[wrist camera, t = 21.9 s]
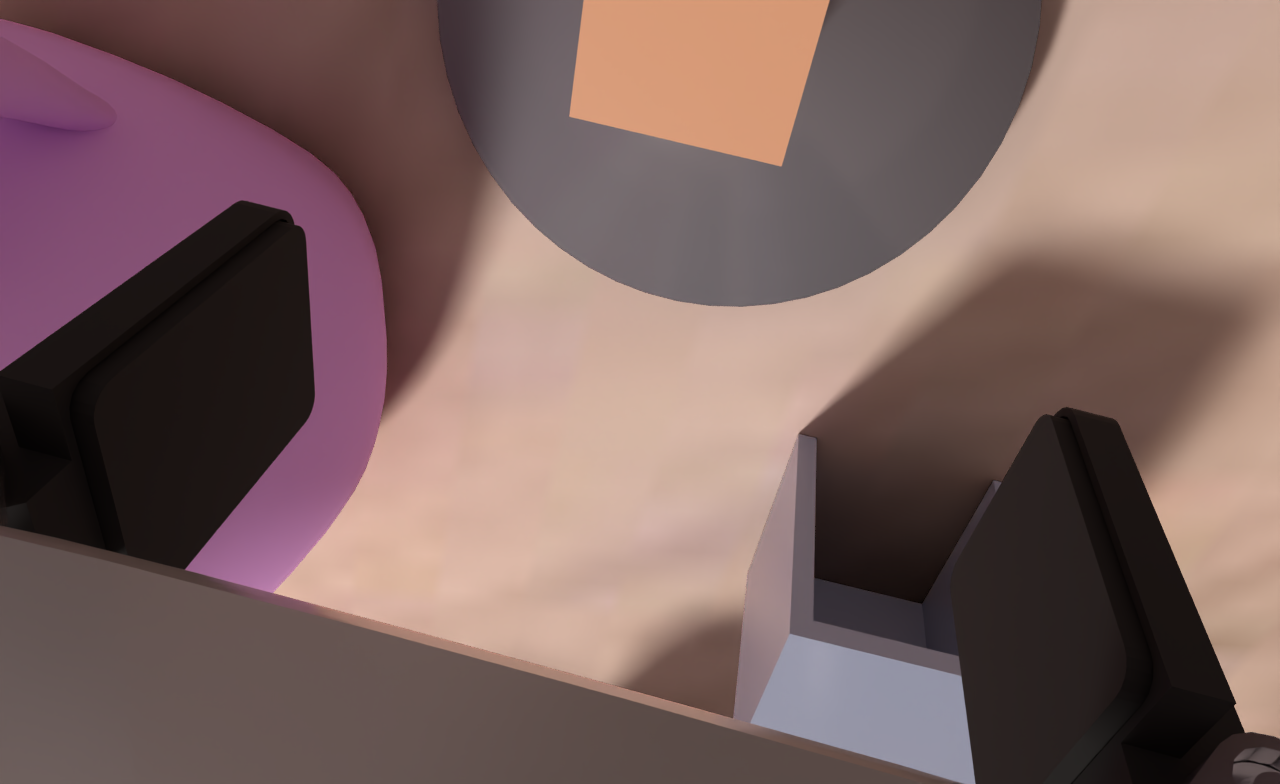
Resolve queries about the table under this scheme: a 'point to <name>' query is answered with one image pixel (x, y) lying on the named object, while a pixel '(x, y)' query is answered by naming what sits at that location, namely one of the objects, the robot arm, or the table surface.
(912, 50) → the charcoal dish
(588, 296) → the table surface
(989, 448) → the table surface
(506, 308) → the table surface
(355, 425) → the teapot
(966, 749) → the grey angular piece
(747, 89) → the terracotta block
